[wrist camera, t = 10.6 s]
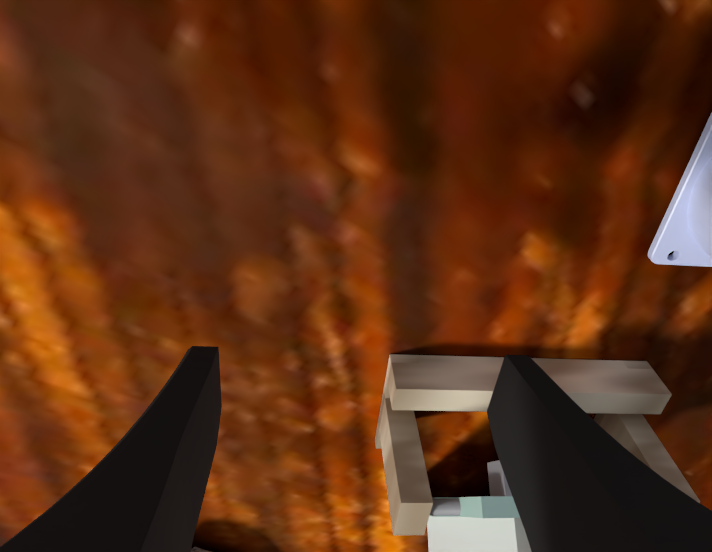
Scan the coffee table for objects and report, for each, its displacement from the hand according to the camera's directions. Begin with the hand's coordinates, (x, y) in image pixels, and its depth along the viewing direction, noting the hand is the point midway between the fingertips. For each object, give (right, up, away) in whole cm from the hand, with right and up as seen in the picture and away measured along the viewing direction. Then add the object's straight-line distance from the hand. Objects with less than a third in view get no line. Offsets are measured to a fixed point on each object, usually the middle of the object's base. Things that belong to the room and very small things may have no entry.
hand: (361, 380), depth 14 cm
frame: (+8, -5, +16) cm, 19 cm away
